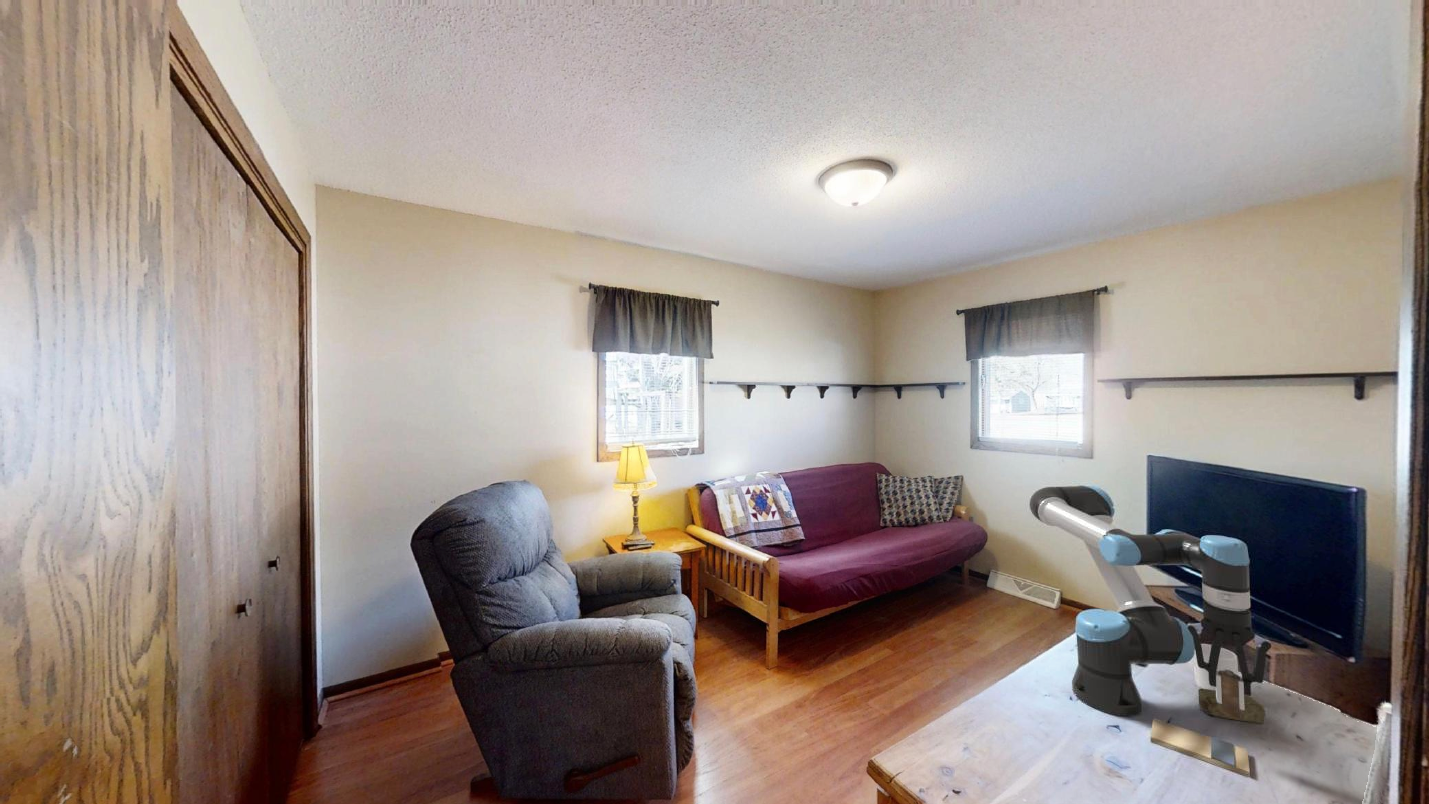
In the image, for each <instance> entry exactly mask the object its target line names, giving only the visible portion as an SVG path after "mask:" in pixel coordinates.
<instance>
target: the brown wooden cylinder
mask: <svg viewBox="0 0 1429 804" xmlns="http://www.w3.org/2000/svg"><path fill="white" fill-rule="evenodd" d="M1219 675H1220V676H1221V692H1222V704H1220V711H1221V712H1222V713H1224V714H1226V715H1228V716H1231V717H1235V718H1240V717H1241V709H1240V708H1239V683H1238V681H1239V680H1240V677H1239V676H1240V675H1239V674H1238V675H1236V674H1234V672H1232V671H1230V670H1225V671H1223V670H1221V671H1219Z"/></svg>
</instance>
